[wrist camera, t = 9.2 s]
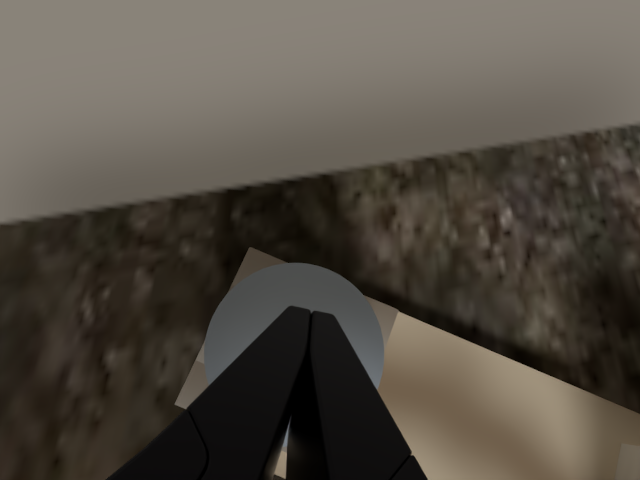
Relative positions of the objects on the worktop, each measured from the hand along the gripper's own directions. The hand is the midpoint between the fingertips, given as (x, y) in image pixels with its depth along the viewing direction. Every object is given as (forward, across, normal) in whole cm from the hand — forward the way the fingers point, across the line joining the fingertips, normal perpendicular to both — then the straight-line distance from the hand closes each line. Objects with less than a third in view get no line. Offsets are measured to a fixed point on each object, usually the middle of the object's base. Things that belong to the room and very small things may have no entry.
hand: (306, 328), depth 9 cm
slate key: (+6, 0, +6) cm, 8 cm away
